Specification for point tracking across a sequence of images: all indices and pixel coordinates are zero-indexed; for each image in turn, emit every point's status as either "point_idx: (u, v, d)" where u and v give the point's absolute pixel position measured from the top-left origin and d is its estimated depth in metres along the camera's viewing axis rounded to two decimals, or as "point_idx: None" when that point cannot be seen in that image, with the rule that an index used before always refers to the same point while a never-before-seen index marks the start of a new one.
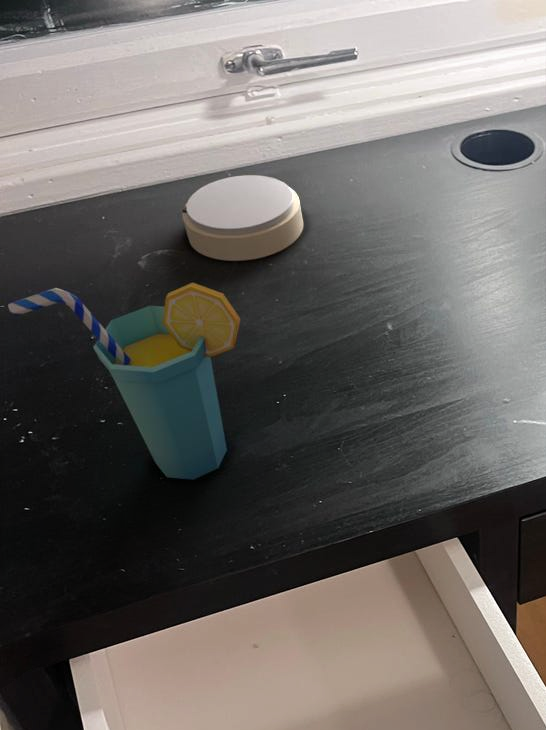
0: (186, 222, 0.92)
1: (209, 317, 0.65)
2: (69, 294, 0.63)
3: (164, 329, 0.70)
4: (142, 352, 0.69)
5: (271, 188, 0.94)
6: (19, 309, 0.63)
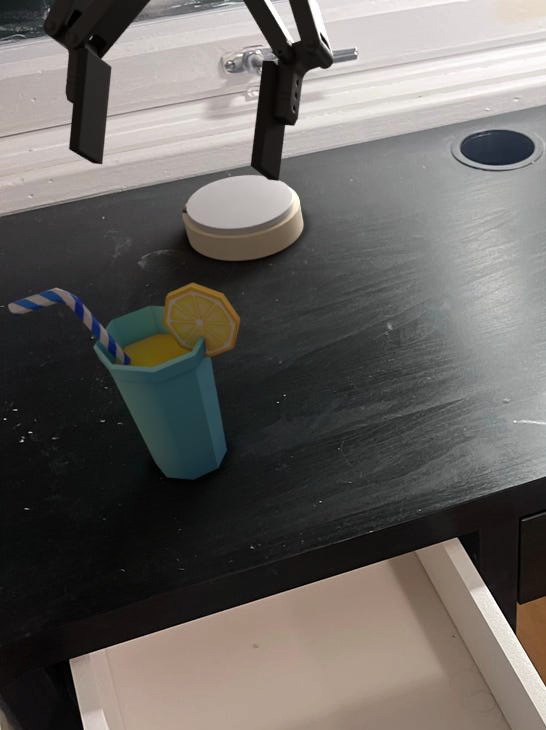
0: (186, 222, 0.92)
1: (209, 317, 0.65)
2: (69, 294, 0.63)
3: (164, 329, 0.70)
4: (142, 352, 0.69)
5: (271, 188, 0.94)
6: (19, 309, 0.63)
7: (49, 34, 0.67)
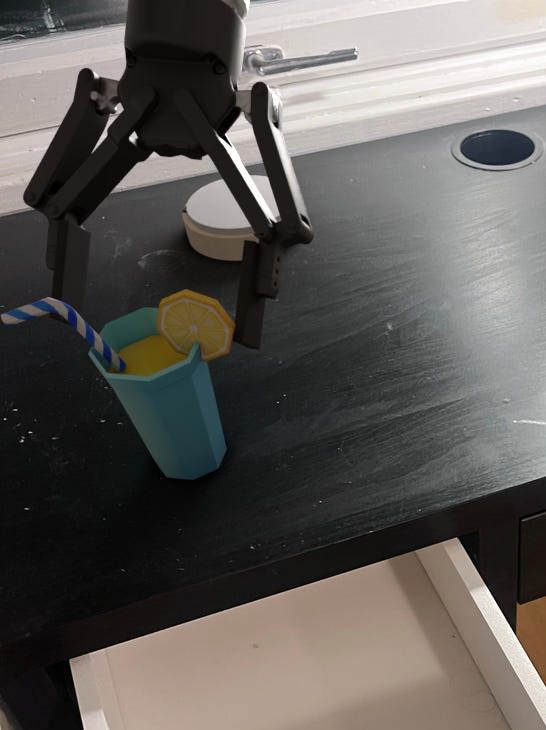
0: (186, 222, 0.92)
1: (203, 323, 0.64)
2: (62, 303, 0.62)
3: None
4: (137, 355, 0.68)
5: None
6: (11, 320, 0.62)
7: (29, 204, 0.68)
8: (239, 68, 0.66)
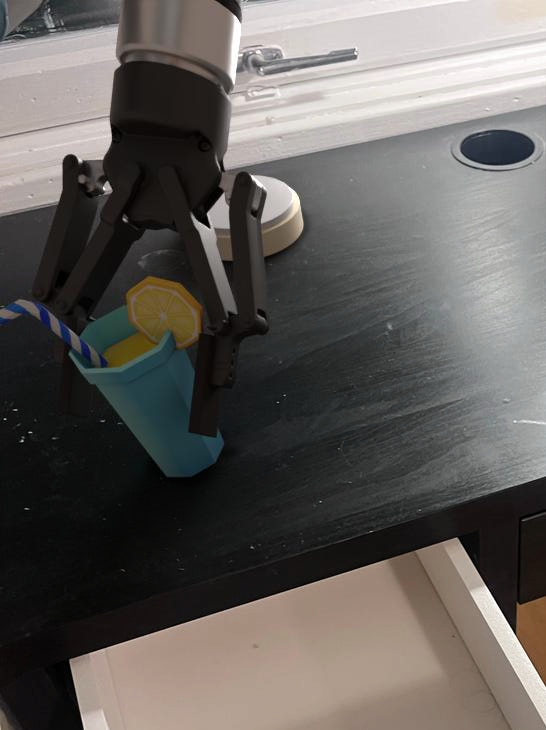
0: None
1: (171, 309, 0.64)
2: (32, 304, 0.63)
3: None
4: (120, 353, 0.68)
5: (271, 188, 0.94)
6: None
7: (39, 300, 0.67)
8: (225, 143, 0.66)
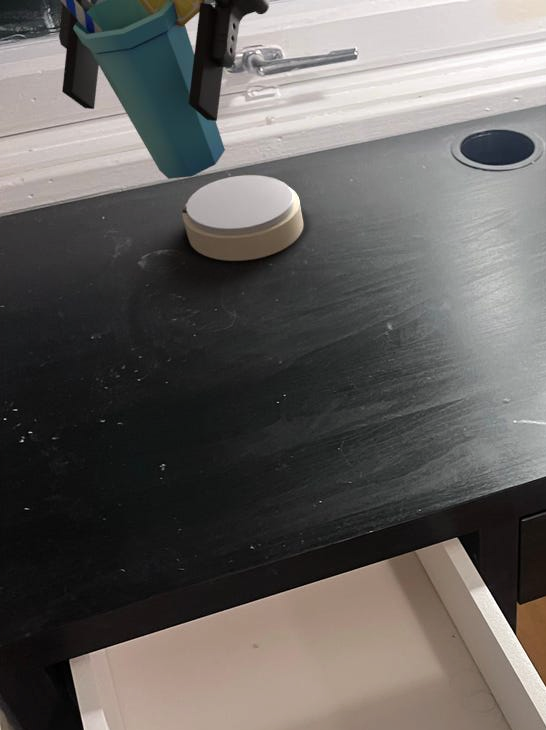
0: (186, 222, 0.92)
1: None
2: None
3: (145, 15, 0.71)
4: None
5: (271, 188, 0.94)
6: None
7: None
8: None
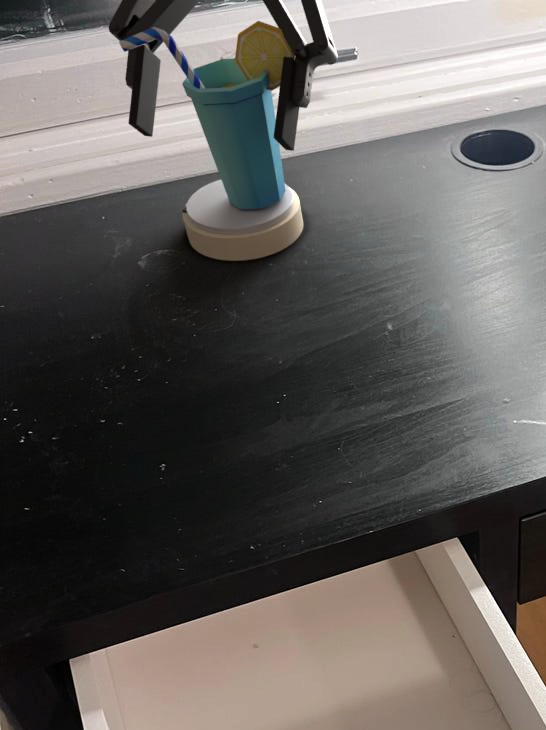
0: (186, 222, 0.92)
1: (271, 50, 0.84)
2: (165, 32, 0.82)
3: (234, 80, 0.88)
4: None
5: None
6: (127, 44, 0.81)
7: (113, 33, 0.86)
8: None
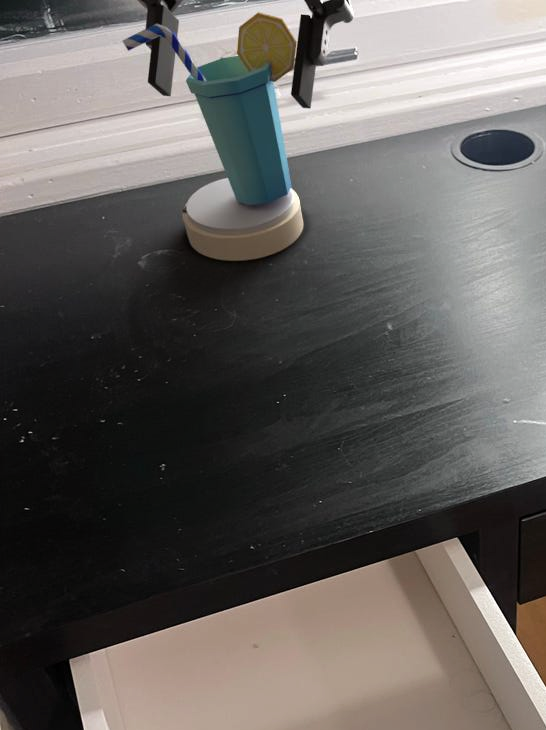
0: (186, 222, 0.92)
1: (273, 41, 0.84)
2: (167, 28, 0.82)
3: None
4: None
5: None
6: (131, 42, 0.81)
7: None
8: None
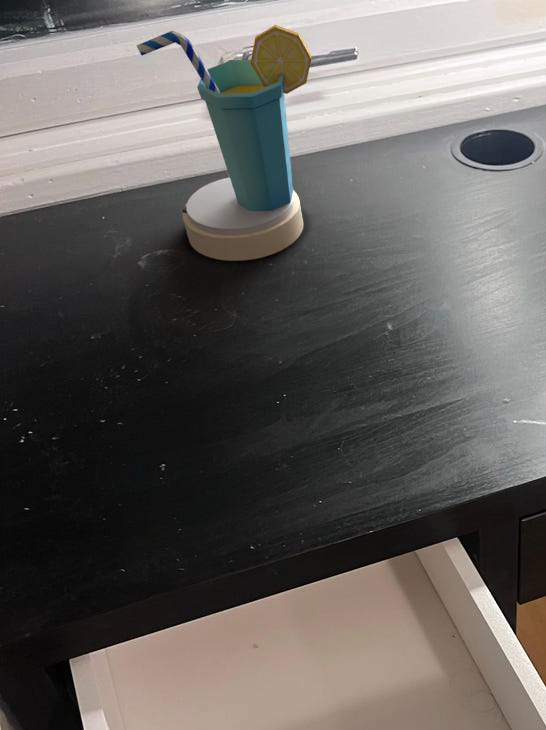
0: (186, 222, 0.92)
1: (288, 55, 0.84)
2: (183, 36, 0.81)
3: (243, 81, 0.88)
4: None
5: None
6: (145, 48, 0.80)
7: None
8: None
